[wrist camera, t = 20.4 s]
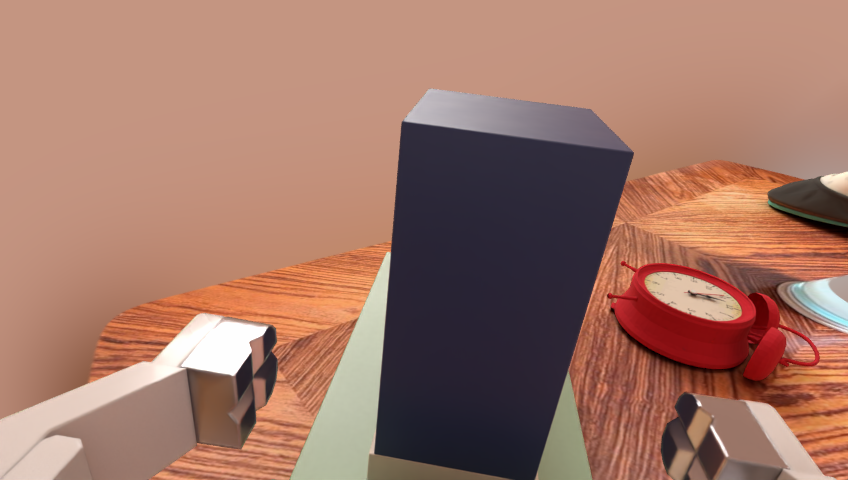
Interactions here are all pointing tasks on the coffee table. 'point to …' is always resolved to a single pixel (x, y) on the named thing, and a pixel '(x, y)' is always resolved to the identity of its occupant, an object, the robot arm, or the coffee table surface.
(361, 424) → the shoe rack
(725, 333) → the alarm clock
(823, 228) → the coffee table surface
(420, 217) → the dark blue l-shaped block
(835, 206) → the ballet flat
